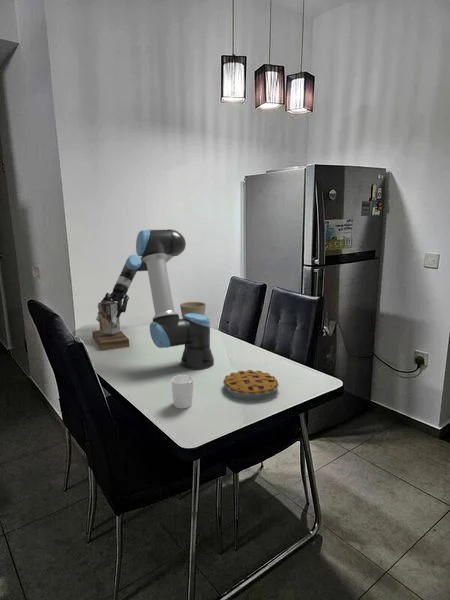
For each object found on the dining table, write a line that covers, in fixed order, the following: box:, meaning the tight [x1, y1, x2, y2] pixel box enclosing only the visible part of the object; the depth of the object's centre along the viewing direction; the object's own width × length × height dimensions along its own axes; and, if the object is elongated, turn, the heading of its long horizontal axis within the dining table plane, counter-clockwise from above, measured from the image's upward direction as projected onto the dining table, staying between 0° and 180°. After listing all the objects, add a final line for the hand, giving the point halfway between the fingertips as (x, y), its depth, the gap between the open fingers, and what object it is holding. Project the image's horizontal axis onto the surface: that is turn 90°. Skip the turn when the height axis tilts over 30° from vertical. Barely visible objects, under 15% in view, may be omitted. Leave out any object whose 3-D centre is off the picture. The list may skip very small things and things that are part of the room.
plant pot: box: [179, 301, 207, 319], centre depth 240 cm, size 15×15×16 cm
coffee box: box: [97, 301, 121, 334], centre depth 217 cm, size 9×6×16 cm
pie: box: [222, 369, 280, 401], centre depth 162 cm, size 22×22×5 cm
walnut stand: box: [91, 329, 130, 352], centre depth 219 cm, size 24×14×4 cm, turn 29°
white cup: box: [171, 374, 194, 410], centre depth 149 cm, size 8×8×10 cm
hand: (105, 321), depth 214 cm, fingers closed on coffee box, 9 cm apart
